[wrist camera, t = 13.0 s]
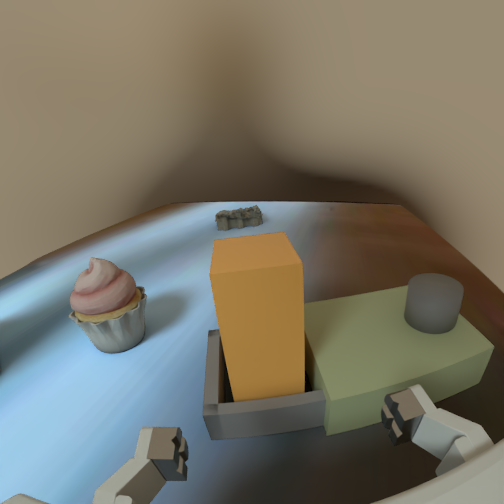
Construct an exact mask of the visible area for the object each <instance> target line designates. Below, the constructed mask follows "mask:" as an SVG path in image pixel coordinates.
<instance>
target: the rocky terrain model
mask: <svg viewBox="0 0 504 504" xmlns="http://www.w3.org/2000/svg"><path fill="white" fill-rule="evenodd" d="M262 215H263V214H262V213H261V211H260V209H259V208H258V206H257V205H255V206H254V207H250V208H245V209H242V208H240V209H238V210H232V211H226V210H223V211H220V212H219V213H217V214H216V220H215V222H216V221H217V226H218V230H224V231H225V230H229V229H231V228H244V227H245V226H258V225H260V224H262Z"/></svg>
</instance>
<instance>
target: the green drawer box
mask: <svg viewBox="0 0 504 504" xmlns="http://www.w3.org/2000/svg"><path fill="white" fill-rule="evenodd" d="M463 294H464V288H463V286H462V284H461V283H460V282H458V281H457V280H455V279H454V278H451V277H449V276H446V275H442V274H437V273H424V274H419V275H416V276H414V277H412V278H411V279H410V280H409V283H408V285H407V286H402V287H397V288H392V289H387V290H381V291H376V292H370V293H365V294H359V295H353V296H348V297H342V298H335V299H329V300H323V301H317V302H310V303H304V338H305V369H306V372H307V375H308V378H309V381H310V385H311V388H312V391H311V392H306V393H300V394H294V395H288V396H281V397H274V398H267V399H259V400H251V401H242V402H231V403H225V361H226V360H225V355H224V350H223V345H222V340H221V335H220V330H209V333H208V345H207V358H206V371H205V386H204V401H203V418H204V421H205V424H206V426H207V429H208V432H209V435H210V437H211V440H221V439H235V438H246V437H255V436H264V435H271V434H279V433H285V432H292V431H298V430H303V429H309V428H314V427H319V426H324V428H325V432H326V435H327V436H328V435H333V434H337V433H342V432H346V431H350V430H354V429H357V428H361V427H365V426H368V425H372V424H375V423H379V422H382V419H381V409H382V407H383V406H384V405H385V404H386V403H385V402H384V398H385V396H386V395H387V394H389V393H392V392H395V391H398V390H401V389H404V388H408V387H411V386H414V385H417V384H419V385H421V387H422V388H423V389H424V391H425V392H426V394H427V395H428V397H429V398H430V399H431V401H432V402H433V403H436V402H438V401H441V400H443V399H445V398H448V397H450V396H452V395H455V394H457V393H459V392H461V391H463V390H466V389H468V388H470V387H472V386H474V385H476V384H478V383H479V382H480V380H481V378H482V375H483V373H484V371H485V369H486V366H487V364H488V361H489V359H490V356H491V354H492V351H493V349H494V345H493V344H492V343H491V342H489V341H488V340H487V339H486V338H485V337H484V336H483V335H482V334H481V333H480V332H479V331H478V330H477V329H476V328H475V327H474V326H472V325H471V324H470V323H469V322H468V321H467V320H466V319H465V318H464V317H463V316H462V315H460V314H459V311H460V307H461V303H462V298H463Z"/></svg>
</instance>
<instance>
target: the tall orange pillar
mask: <svg viewBox="0 0 504 504" xmlns="http://www.w3.org/2000/svg"><path fill="white" fill-rule="evenodd" d="M210 280H211V286H212V292H213V297H214V303H215V308H216V314H217V319H218V325H219V330H220V335H221V340H222V345H223V350H224V355H225V360H226V365H227V370H228V375H229V380H230V384H231V389H232V394H233V398H234V402H242V401H251V400H259V399H267V398H274V397H281V396H288V395H294V394H300V393H305V338H304V290H303V263H302V261H301V260H300V258H299V256H298V255H297V253H296V251H295V249H294V248H293V246H292V244H291V243H290V241H289V239H288V238H287V236H286V234H285V233H284V232H278V233H269V234H261V235H252V236H244V237H235V238H227V239H218V240H215V241H214V247H213V254H212V261H211V268H210Z"/></svg>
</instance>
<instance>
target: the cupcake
mask: <svg viewBox="0 0 504 504" xmlns="http://www.w3.org/2000/svg"><path fill="white" fill-rule="evenodd" d="M144 291H145V289H144V287H136V283H135V281H134V279H133V277H132V276H131V275H130V274H129V273H128V272H126V271H124V270H122V269H119V268H118V267H117V266H116V265H114V264H113V263H112V262H110V261H107V260H104V259H98V258H93V257H91V258H90V262H89V269H87V270H85V271H83V272H82V273H81V274H80V275H79V277H78V279H77V281H76V283H75V287H74V290H73V291H72V293H71V296H70V303H71V308H72V309H73V311H72V312H71V313H70V314H69V316H68V317H69V318H71V319H72V320H73V321H74V322H75V323H76V324H77V325H79V326H80V327H81V328H82V329H83V331H84V332H85V333H86V335H87V336H88V337H89V339H90V340H91V341H92V343H93V344H94V346H95V347H96V348H97V349H98V350H100V351H102V352H105V353H118V352H123V351H126V350H128V349H130V348H132V347H134V346H135V345H137V344H138V343H139V342H140V341H141V340H142V338H143V336H144V333H145V320H144V309H145V303H146V298H147V295H146V294H144Z"/></svg>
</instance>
